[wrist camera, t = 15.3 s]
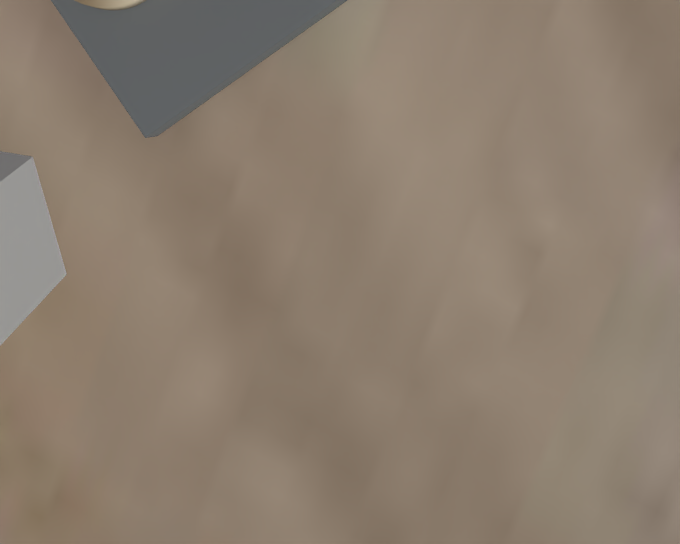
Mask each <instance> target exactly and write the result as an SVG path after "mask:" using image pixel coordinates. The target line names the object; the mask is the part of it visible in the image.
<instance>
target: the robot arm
mask: <svg viewBox="0 0 680 544" xmlns="http://www.w3.org/2000/svg"><path fill="white" fill-rule="evenodd" d="M66 275H67V274H66V270H65V267H64V263H63V260H62V256H61V253H60V250H59V246H58V243H57V239H56V236H55V232H54V229H53V225H52V222H51V218H50V215H49V211H48V208H47V205H46V201H45V198H44V194H43V191H42V187H41V184H40V180H39V177H38V173H37V170H36V166H35V163H34V159H33V157H31V156H25V155H19V154H14V153H8V152H2V151H0V345H1V344H2V343H3V342H4V341H5V340H6V339H7V338H8V337H9V336H10V335H11V333H12V332H13V331H14V330H15V329H16V328H17V327H18V326H19V325H20V324H21V323H22V322H23V321H24V320H25V318H26V317H27V316H28V315H29V314H30V313H31V312H32V311H33V310H34V309H35V308H36V307H37V306H38V305H39V303H40V302H41V301H42V300H43V299H44V298H45V297H46V296H47V295H48V294H49V293H50V292H51V291H52V290H53V288H54V287H55V286H56V285H57V284H58V283H59V282H60V281H61V280H62V279H63V278H64V277H65V276H66Z"/></svg>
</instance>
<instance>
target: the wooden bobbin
mask: <svg viewBox="0 0 680 544" xmlns="http://www.w3.org/2000/svg"><path fill="white" fill-rule="evenodd" d="M74 1H77V2H79V3H81V4H84V5H88V6H91V7H95V8H99V9H103V10H123V9H129V8H132V7H134V6H137V5H139V4H141V3H143V2H145V1H146V0H74Z"/></svg>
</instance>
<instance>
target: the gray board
mask: <svg viewBox="0 0 680 544" xmlns="http://www.w3.org/2000/svg"><path fill="white" fill-rule="evenodd" d="M51 1H52V2H53V4H54V5H55V7H56V8H57V10H58V11H59V13H60V14H61V16H62V17H63V18H64V20H65V21H66V23H67V24H68V26H69V27H70V29H71V30H72V32H73V33H74V35H75V36H76V37H77V39H78V40H79V42H80V43H81V45H82V46H83V48H84V49H85V51H86V52H87V53H88V55H89V56H90V58H91V59H92V61H93V62H94V64H95V65H96V67H97V68H98V70H99V71H100V72H101V74H102V75H103V77H104V78H105V80H106V81H107V83H108V84H109V86H110V87H111V88H112V90H113V91H114V93H115V94H116V96H117V97H118V99H119V100H120V102H121V103H122V105H123V106H124V107H125V109H126V110H127V112H128V113H129V115H130V116H131V118H132V119H133V121H134V122H135V124H136V125H137V126H138V128H139V129H140V131H141V132H142V134H143V135H144V137H145V138H147V137H154V136H158V135H159V134H161V133H162V132H164V131H165V130H166V129H168V128H169V127H171V126H172V125H173V124H175V123H176V122H178V121H179V120H180V119H182V118H183V117H185V116H186V115H187V114H189V113H190V112H192V111H193V110H194V109H196V108H197V107H199V106H200V105H201V104H203V103H204V102H206V101H207V100H208V99H210V98H211V97H213V96H214V95H215V94H217V93H218V92H220V91H221V90H222V89H224V88H225V87H227V86H228V85H229V84H231V83H232V82H234V81H235V80H236V79H238V78H239V77H241V76H242V75H243V74H245V73H246V72H248V71H249V70H250V69H252V68H253V67H255V66H256V65H257V64H259V63H260V62H262V61H263V60H264V59H266V58H267V57H269V56H270V55H271V54H273V53H274V52H276V51H277V50H278V49H280V48H281V47H283V46H284V45H285V44H287V43H288V42H290V41H291V40H292V39H294V38H295V37H297V36H298V35H299V34H301V33H302V32H304V31H305V30H306V29H308V28H309V27H311V26H312V25H313V24H315V23H316V22H318V21H319V20H320V19H322V18H323V17H325V16H326V15H327V14H329V13H330V12H332V11H333V10H334V9H336V8H337V7H339V6H340V5H341V4H343V3H344V2H346V1H347V0H146V1H145V2H143V3H141V4H139V5H137V6H134V7H132V8H129V9H123V10H103V9H99V8H95V7H91V6H88V5H84V4H81V3H79V2H77V1H74V0H51Z"/></svg>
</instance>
